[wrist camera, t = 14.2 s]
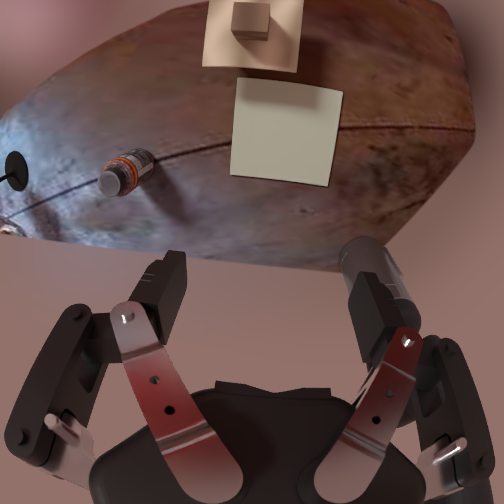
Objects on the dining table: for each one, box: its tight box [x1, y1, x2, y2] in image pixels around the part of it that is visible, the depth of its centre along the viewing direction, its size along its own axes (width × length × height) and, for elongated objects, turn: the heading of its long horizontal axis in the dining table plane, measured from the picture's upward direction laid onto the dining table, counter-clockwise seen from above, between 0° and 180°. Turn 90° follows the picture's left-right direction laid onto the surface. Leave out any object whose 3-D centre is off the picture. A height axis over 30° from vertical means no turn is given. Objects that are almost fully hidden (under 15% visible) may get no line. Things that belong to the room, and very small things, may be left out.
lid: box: [202, 0, 304, 73], centre depth 23 cm, size 12×12×6 cm
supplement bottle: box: [98, 149, 154, 197], centre depth 38 cm, size 6×6×11 cm
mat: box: [230, 77, 343, 186], centre depth 38 cm, size 16×16×1 cm
